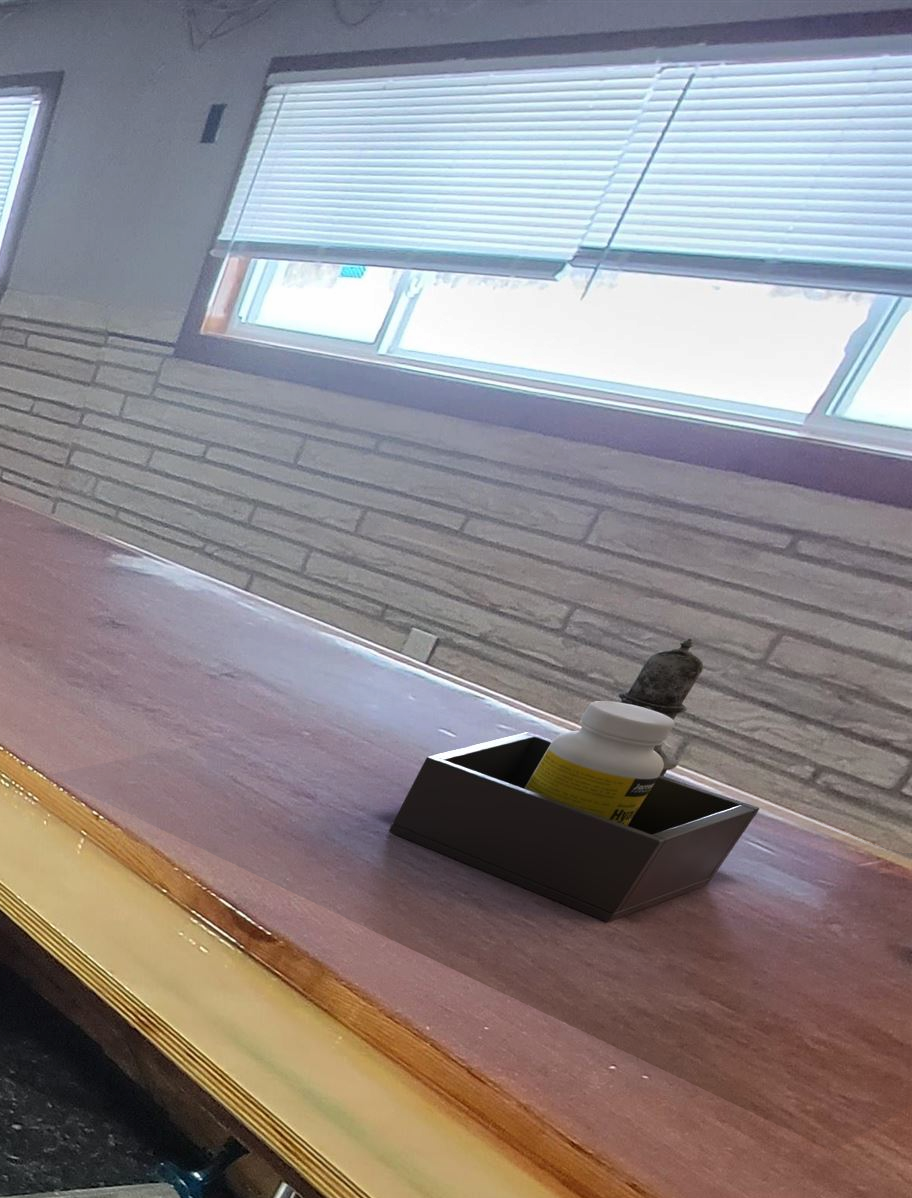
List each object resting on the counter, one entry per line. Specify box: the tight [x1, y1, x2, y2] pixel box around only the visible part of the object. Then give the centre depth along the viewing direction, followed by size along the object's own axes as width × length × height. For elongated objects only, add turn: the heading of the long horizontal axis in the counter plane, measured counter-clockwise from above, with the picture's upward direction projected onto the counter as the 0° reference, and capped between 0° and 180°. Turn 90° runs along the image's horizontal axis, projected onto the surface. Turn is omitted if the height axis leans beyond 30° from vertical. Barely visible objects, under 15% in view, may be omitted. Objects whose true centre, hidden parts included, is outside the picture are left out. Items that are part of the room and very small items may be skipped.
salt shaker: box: [618, 638, 704, 777], centre depth 86 cm, size 6×6×12 cm
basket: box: [388, 731, 760, 923], centre depth 79 cm, size 12×12×6 cm
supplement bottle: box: [524, 700, 676, 826], centre depth 77 cm, size 5×5×10 cm
